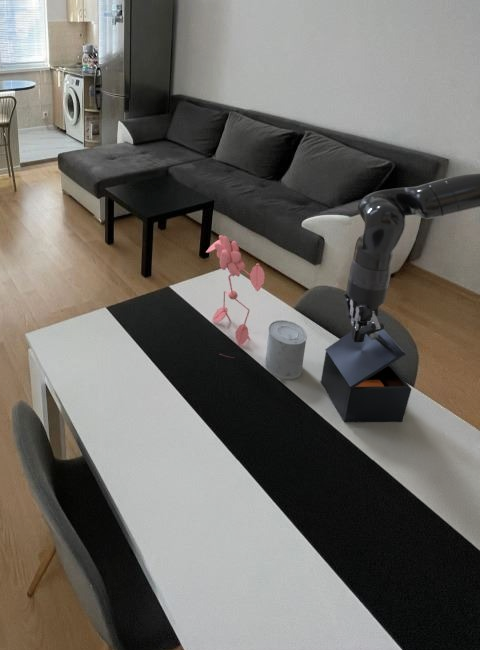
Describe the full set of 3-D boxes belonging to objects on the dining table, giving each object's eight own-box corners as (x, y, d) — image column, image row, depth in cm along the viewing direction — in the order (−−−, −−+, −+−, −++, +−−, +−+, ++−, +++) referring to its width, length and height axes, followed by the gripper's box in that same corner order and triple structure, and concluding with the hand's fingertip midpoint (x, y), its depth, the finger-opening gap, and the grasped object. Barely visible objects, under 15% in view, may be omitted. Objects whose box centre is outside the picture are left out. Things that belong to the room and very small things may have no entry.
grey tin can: (261, 370, 121) (264, 336, 116) (269, 349, 128) (272, 316, 123) (298, 384, 115) (303, 349, 111) (304, 361, 123) (309, 327, 118)
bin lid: (374, 318, 107) (358, 304, 106) (406, 354, 96) (389, 339, 95) (327, 350, 112) (311, 338, 110) (352, 389, 100) (335, 375, 99)
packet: (376, 391, 111) (379, 379, 109) (387, 406, 106) (390, 394, 105) (348, 391, 111) (351, 380, 110) (358, 406, 107) (361, 394, 106)
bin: (372, 381, 115) (380, 350, 111) (402, 422, 103) (411, 388, 99) (320, 382, 116) (325, 351, 112) (344, 422, 104) (350, 389, 100)
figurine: (217, 305, 148) (221, 215, 136) (270, 356, 125) (282, 253, 113) (178, 317, 144) (179, 225, 131) (227, 372, 121) (233, 267, 108)
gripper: (405, 296, 90) (390, 360, 96) (368, 262, 102) (357, 321, 108) (367, 298, 90) (355, 361, 97) (336, 263, 103) (327, 322, 109)
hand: (356, 339), depth 102 cm, fingers closed
